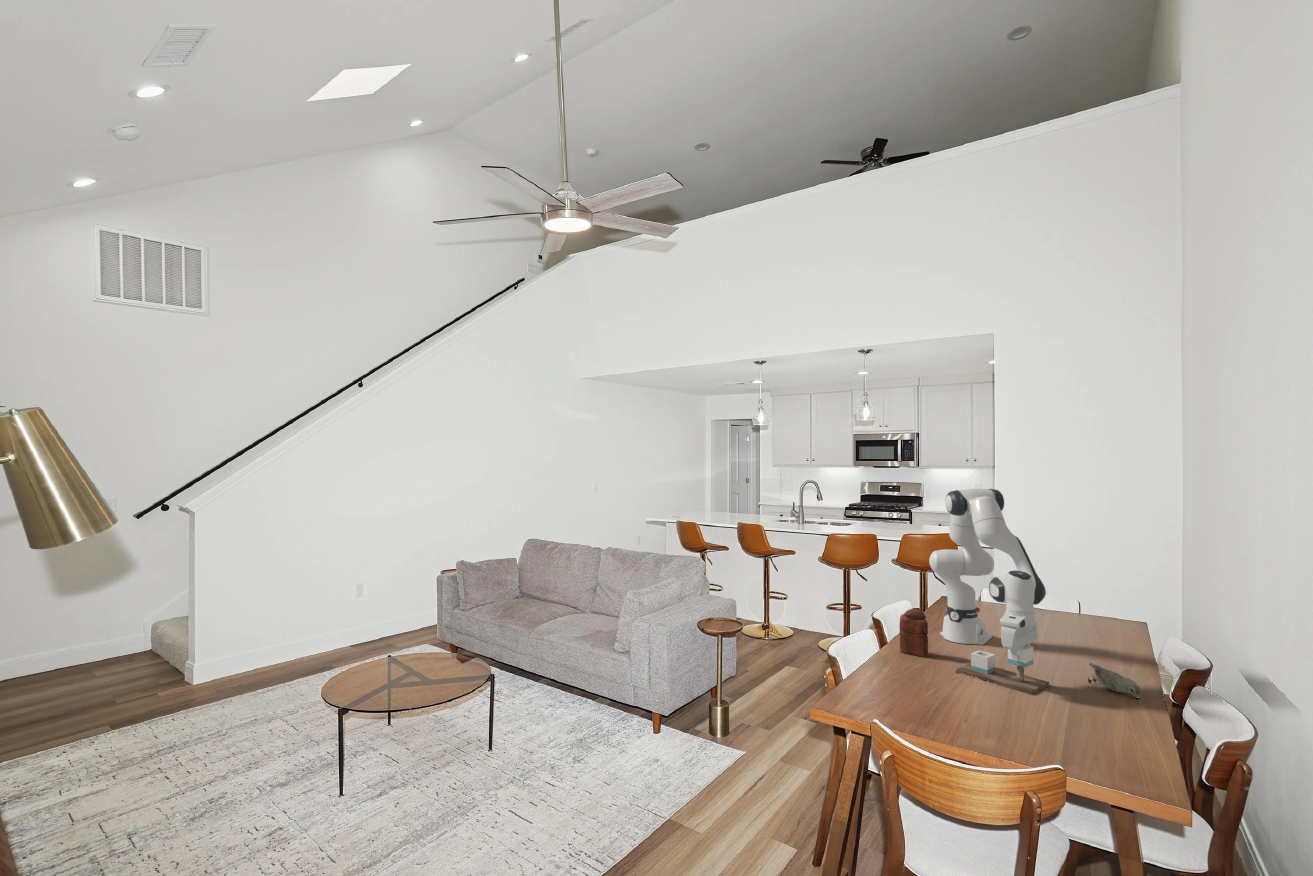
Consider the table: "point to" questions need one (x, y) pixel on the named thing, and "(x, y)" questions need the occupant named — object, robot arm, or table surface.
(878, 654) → the table surface
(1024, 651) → the cream sleeve
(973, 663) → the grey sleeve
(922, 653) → the brown leather case
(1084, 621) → the table surface
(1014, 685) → the pin board
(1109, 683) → the decorative bird
